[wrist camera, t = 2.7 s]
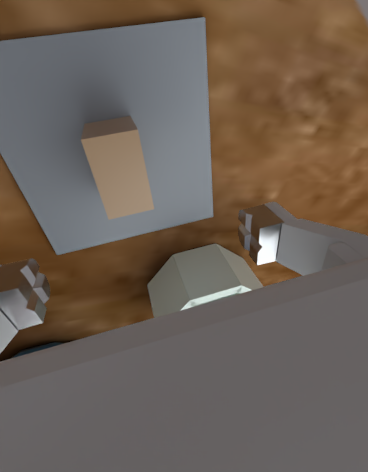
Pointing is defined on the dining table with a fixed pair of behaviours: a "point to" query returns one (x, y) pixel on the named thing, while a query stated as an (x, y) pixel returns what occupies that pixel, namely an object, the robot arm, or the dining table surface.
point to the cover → (109, 130)
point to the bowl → (199, 279)
